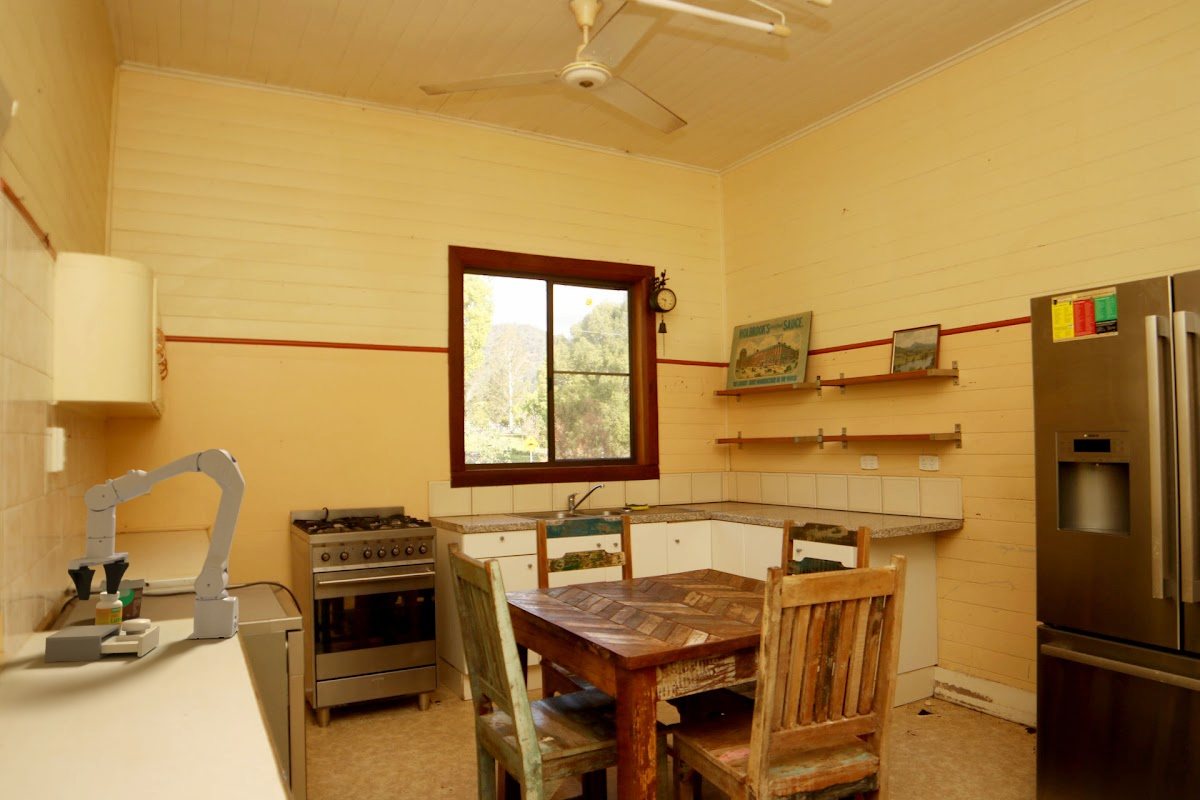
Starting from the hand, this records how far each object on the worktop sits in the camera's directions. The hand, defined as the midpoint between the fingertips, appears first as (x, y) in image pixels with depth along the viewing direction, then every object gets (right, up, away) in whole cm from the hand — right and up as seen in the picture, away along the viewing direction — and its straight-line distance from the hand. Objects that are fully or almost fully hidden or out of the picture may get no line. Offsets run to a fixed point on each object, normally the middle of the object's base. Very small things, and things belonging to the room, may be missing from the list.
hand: (98, 596), depth 181 cm
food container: (-11, -12, +24) cm, 29 cm away
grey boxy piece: (+5, -9, -12) cm, 16 cm away
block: (+10, -10, -3) cm, 15 cm away
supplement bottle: (-2, -11, +7) cm, 13 cm away
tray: (+13, -9, -11) cm, 19 cm away
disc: (+10, -6, -3) cm, 12 cm away
